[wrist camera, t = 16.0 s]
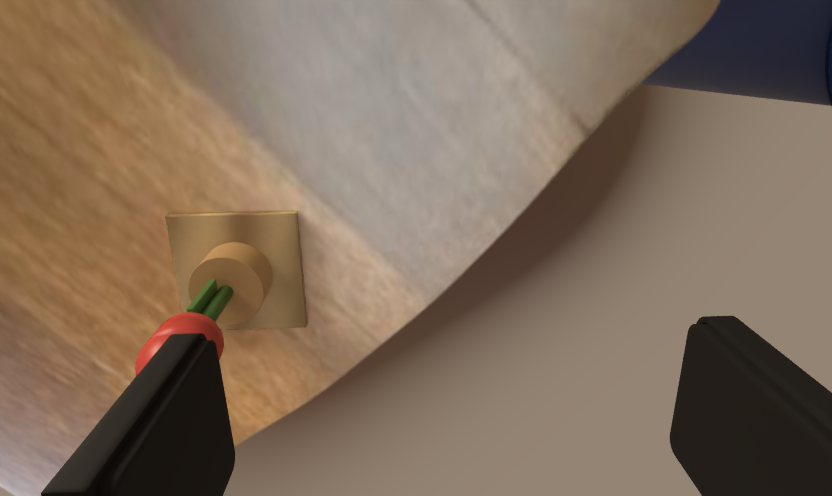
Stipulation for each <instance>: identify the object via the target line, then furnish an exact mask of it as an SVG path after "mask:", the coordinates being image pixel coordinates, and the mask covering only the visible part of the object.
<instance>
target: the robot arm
mask: <svg viewBox="0 0 832 496" xmlns="http://www.w3.org/2000/svg"><path fill="white" fill-rule="evenodd" d="M670 443H671V448H672V450H673V453H674V455H675V456H676V458H677V459H678V461H679V462H680V464H681V465H682V467H683V468H684V470H685V471H686V473H687V474H688V475H689V477H690V478H691V480H692V481H693V483H694V484H695V486H696V487H697V489H698V490H699V492H700V493H701V494H702V496H832V393H831V392H830V391H829V390H827V389H826V388H825V387H824V386H822V385H821V384H820V383H819V382H817V381H816V380H815V379H814V378H812V377H811V376H810V375H808V374H807V373H806V372H805V371H803V370H802V369H801V368H799V367H798V366H797V365H796V364H794V363H793V362H792V361H791V360H789V359H788V358H787V357H785V356H784V355H783V354H782V353H781V352H779V351H778V350H777V349H775V348H774V347H773V346H772V345H770V344H769V343H768V342H767V341H765V340H764V339H763V338H761V337H760V336H759V335H758V334H756V333H755V332H754V331H753V330H751V329H750V328H749V327H748V326H746V325H745V324H744V323H743V322H741V321H740V320H739V319H738V318H736V317H734V316H711V317H701V318H700V319H699V320H698V321H697V323H696V324H693V325H691V326H690V328H689V330H688V335H687V340H686V346H685V353H684V357H683V363H682V369H681V375H680V381H679V386H678V392H677V398H676V403H675V409H674V415H673V420H672V427H671V432H670ZM234 463H235V450H234V443H233V438H232V432H231V426H230V421H229V415H228V409H227V403H226V398H225V392H224V386H223V381H222V375H221V369H220V363H219V358H218V352H217V347H216V344H215V342H214V341H213V340H207V338H206V336H205V335H204V334H203V333H189V334H172V335H170V336H169V337H168V338H167V340H166V341H165V342H164V343H163V345H162V346H161V347H160V348H159V349H158V351H157V352H156V353H155V354H154V356H153V357H152V358H151V359H150V360H149V362H148V363H147V364H146V365H145V367H144V368H143V369H142V370H141V371H140V373H139V374H138V375H137V376H136V378H135V379H134V380H133V381H132V382H131V384H130V385H129V386H128V387H127V389H126V390H125V391H124V392H123V393H122V395H121V396H120V397H119V398H118V400H117V401H116V402H115V403H114V404H113V406H112V407H111V408H110V409H109V411H108V412H107V413H106V414H105V415H104V417H103V418H102V419H101V420H100V422H99V423H98V424H97V425H96V426H95V428H94V429H93V430H92V431H91V433H90V434H89V435H88V436H87V437H86V439H85V440H84V441H83V442H82V444H81V445H80V446H79V447H78V448H77V450H76V451H75V452H74V453H73V455H72V456H71V457H70V458H69V459H68V461H67V462H66V463H65V464H64V466H63V467H62V468H61V469H60V470H59V472H58V473H57V474H56V475H55V477H54V478H53V479H52V480H51V481H50V483H49V484H48V485H47V486H46V488H45V489H44V490H43V491H42V492H41V495H42V496H223V494H224V491H225V489H226V486H227V484H228V481H229V479H230V476H231V474H232V471H233V468H234Z"/></svg>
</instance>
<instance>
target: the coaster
mask: <svg viewBox="0 0 832 496" xmlns="http://www.w3.org/2000/svg"><path fill="white" fill-rule="evenodd" d="M165 218H166V223H167V229H168V234H169V240H170V245H171V251H172V256H173V262H174V267H175V273H176V278H177V284H178V289H179V295H180V300H181V306H182V312H183V313H187V310H186V309H187V308H188V306H189V305H190V304H191V303H192V302H191V299H190V297H189V293H188V282H189V278H190V276H191V274H192V272H193V270H194V269H195V268H196V267H197V266H198V265H199V263H200V262H201V261H202V260H203V259H204V258H205V257H206V256H207V255H208V254H209V253H210V252H211V251H212V250H213V249H214V248H216V247H217V246H219V245H222V244H225V243H231V242H238V243H244V244H247V245H250V246H252V247H254V248H256V249H257V250H259V251H260V252H261V253H262V254H263V255H264V256H265V257H266V259H267V260H268V262H269V264H270V266H271V269H272V273H273V280H272V285H271V288H270V290H269V292H268V294H267V296H266V298H265V300H264V302H263V304H262V306H261V308H260V309H259V311H258V312H257V313H256V314H255V315H254V316H253V317H252V318H250V319H249V320H247V321H245V322H242V323H239V324H232V325H226V324H220V323H216V324H217V325H218V326H219V328H220V330H237V329H267V328H297V327H307V324H308V323H307V312H306V301H305V290H304V280H303V269H302V258H301V247H300V236H299V225H298V215H297V211H277V212H236V213H195V214H168V215H167V216H165Z"/></svg>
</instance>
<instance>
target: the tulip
mask: <svg viewBox="0 0 832 496" xmlns="http://www.w3.org/2000/svg"><path fill="white" fill-rule="evenodd" d="M272 280H273V273H272V269H271V266H270V264H269V262H268V260H267V259H266V257H265V256H264V255H263V254H262V253H261V252H260V251H259V250H257V249H256V248H254V247H252V246H250V245H247V244H244V243H238V242H231V243H225V244H222V245H219V246H217V247H216V248H214V249H213V250H212V251H211V252H210V253H209V254H208V255H207V256H206V257H205V258H204V259H203V260H202V261H201V262H200V263H199V265H198V266H197V267H196V268H195V269H194V270H193V272H192V274H191V276H190V278H189V282H188V293H189V297H190V299H191V302H192V303H191V304H190V305H189V306H188V308H187V309H186V310H187V313H181V314H178V315H175V316H173V317H171V318H169V319H168V320H167V321H166V322H164V323H163V324H162V325H161V326H160V327H159V329H158V330H157V331H156V332H155V333H154V335H153V336H152V337H151V338H150V339H149V340H148V342H147V343H146V344H145V345H144V347H143V348H142V350H141V351H140V353H139V355H138V358H137V361H136V367H135V370H136V376H137V375H138V374H139V373H140V371H141V370H142V369H143V368H144V367H145V365H146V364H147V363H148V362H149V360H150V359H151V358H152V357H153V356H154V354H155V353H156V352H157V351H158V349H159V348H160V347H161V346H162V345H163V343H164V342H165V341H166V340H167V338H168V337H169V336H170V335H172V334H189V333H203V334H204V335H205V336H206V338H207V340H213V341H214V342H215V344H216V347H217V352H218V358H219V360H220V357H221V355H222V352H223V347H224V340H223V335H222V332H221V330H220V328H219V326H218V325H217V324H216V323H220V324H226V325H232V324H239V323H242V322H245V321H247V320H249V319H250V318H252V317H253V316H254V315H255V314H256V313H257V312H258V311H259V309H260V308H261V306H262V304H263V302H264V300H265V298H266V296H267V294H268V292H269V290H270V288H271V285H272Z"/></svg>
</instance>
